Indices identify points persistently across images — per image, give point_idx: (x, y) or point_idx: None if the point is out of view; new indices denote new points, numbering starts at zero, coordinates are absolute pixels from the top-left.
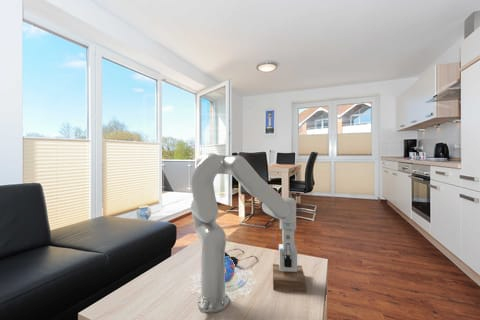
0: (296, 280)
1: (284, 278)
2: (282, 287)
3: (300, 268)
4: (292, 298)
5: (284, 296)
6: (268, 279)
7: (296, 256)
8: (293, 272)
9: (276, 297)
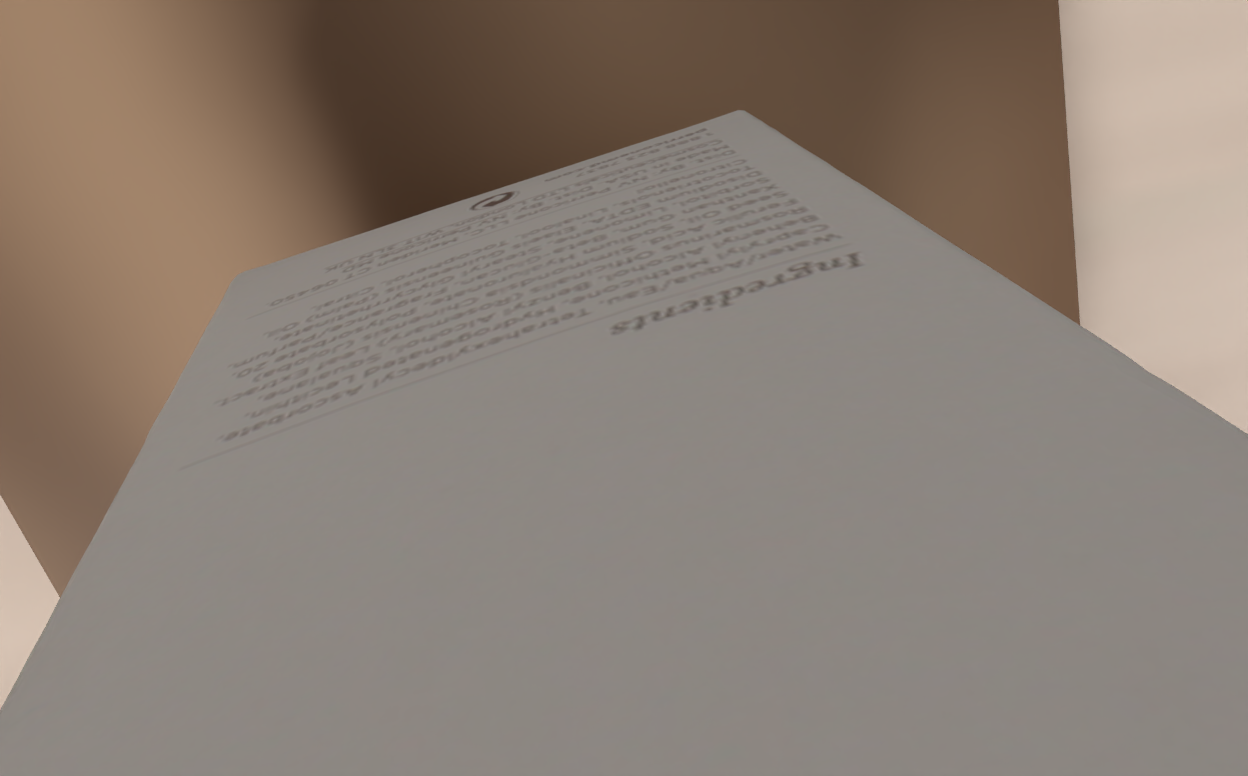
0: (1031, 61)
1: None
2: None
3: (43, 46)
4: (1209, 73)
5: (1162, 260)
6: None
7: (1180, 431)
8: None
9: (1218, 402)
